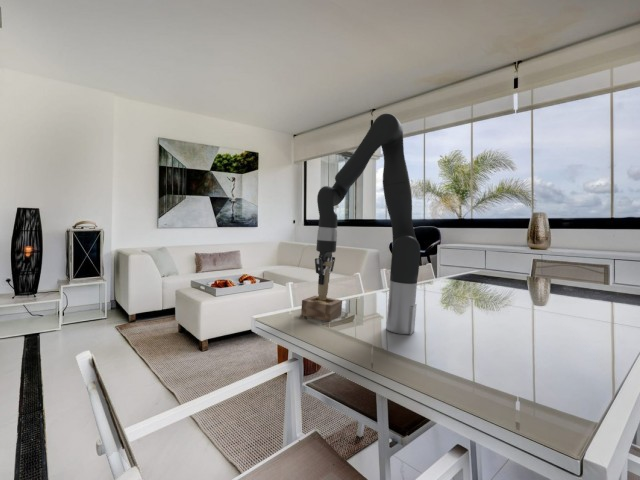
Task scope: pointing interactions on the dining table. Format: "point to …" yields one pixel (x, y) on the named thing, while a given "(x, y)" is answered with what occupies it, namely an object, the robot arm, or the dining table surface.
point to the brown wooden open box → (321, 308)
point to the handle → (324, 288)
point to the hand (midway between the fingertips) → (323, 283)
